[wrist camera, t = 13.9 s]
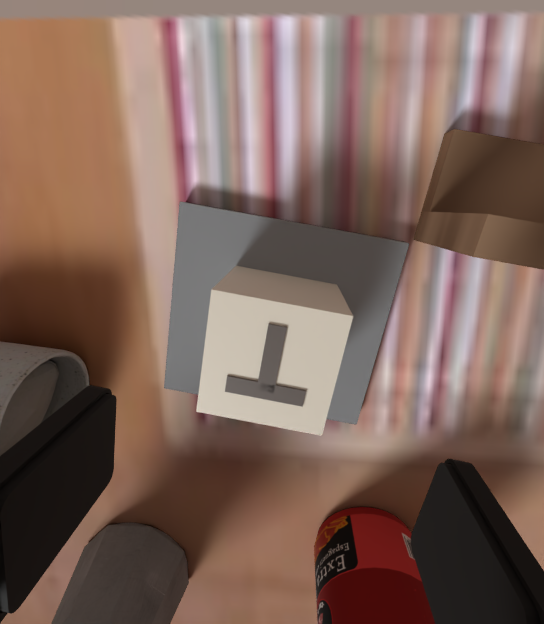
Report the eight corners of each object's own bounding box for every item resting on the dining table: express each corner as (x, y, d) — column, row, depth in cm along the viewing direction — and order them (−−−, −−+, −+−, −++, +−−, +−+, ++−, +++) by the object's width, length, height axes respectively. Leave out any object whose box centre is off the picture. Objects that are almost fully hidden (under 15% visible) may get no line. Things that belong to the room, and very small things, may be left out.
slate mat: (403, 241, 20) (409, 243, 19) (354, 415, 23) (356, 424, 22) (185, 201, 20) (179, 201, 19) (169, 380, 24) (164, 388, 23)
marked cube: (337, 284, 20) (353, 317, 14) (315, 375, 22) (322, 437, 16) (235, 265, 20) (210, 290, 14) (222, 357, 22) (195, 412, 16)
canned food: (326, 493, 26) (347, 692, 15) (430, 516, 26) (523, 732, 15) (303, 565, 28) (306, 780, 17) (398, 586, 28) (459, 815, 17)
